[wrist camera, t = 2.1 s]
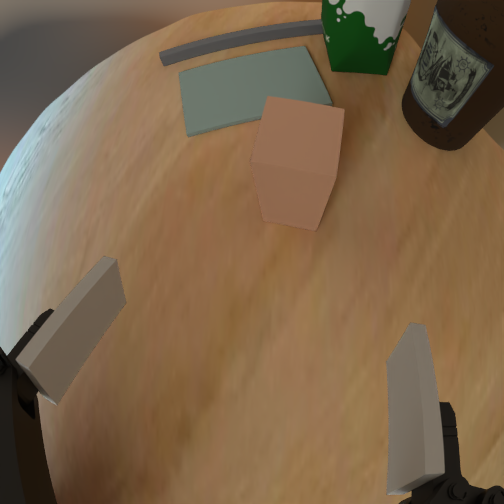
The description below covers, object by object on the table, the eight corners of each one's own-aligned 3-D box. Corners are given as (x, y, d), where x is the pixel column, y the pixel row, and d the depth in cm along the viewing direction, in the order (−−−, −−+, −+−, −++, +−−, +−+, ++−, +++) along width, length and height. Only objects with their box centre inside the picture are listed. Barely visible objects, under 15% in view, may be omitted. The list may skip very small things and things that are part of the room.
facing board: (304, 49, 33) (304, 45, 33) (331, 106, 31) (332, 103, 30) (180, 75, 34) (178, 72, 33) (188, 137, 32) (186, 134, 31)
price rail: (361, 25, 33) (363, 16, 32) (365, 31, 33) (367, 22, 31) (163, 59, 35) (159, 51, 33) (163, 66, 35) (159, 57, 33)
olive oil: (440, 79, 31) (509, -65, 6) (485, 145, 29) (598, 16, 4) (379, 91, 31) (435, -94, 7) (428, 166, 29) (559, -8, 4)
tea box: (324, 182, 29) (344, 109, 18) (316, 231, 29) (336, 177, 17) (272, 172, 30) (265, 95, 18) (262, 220, 29) (248, 161, 18)
